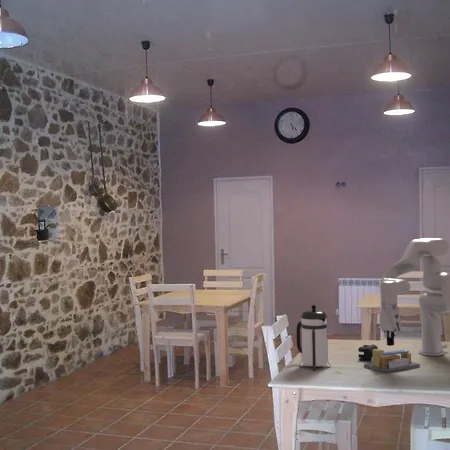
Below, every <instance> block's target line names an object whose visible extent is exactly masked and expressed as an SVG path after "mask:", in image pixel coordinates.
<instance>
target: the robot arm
mask: <svg viewBox="0 0 450 450" xmlns="http://www.w3.org/2000/svg"><path fill="white" fill-rule="evenodd" d="M449 250H450V243H449V241H448V240H447V239H446V238H442V237H441V238H439V237H437V238H435V237H433V238H432V237H424V238H423V237H422V238H417V239H416V238H415V239H412V240H411V241H409V243H408V244H407V246H406V248H405V250H404V253H403V255H402V256H401V259H400V260H398V261H397V262H395V263H394V264H393V265H391V266H390V267H389V268H387V269H386V270H385V272H384V274H383V275H382V278H381V280H380V284H379V288H380V312H379V313H380V314H379V326H380V327H379V328H380V329H381V332H383V333H384V335H385V337H386V345H387V346H389V347H391V346H394V345H395V337H396V335H400V331H402V324H401V320H402V319H401V315H400V311H399V309H398V308H399V305H398V296H399V295H401V296H404V295H406V294H408V293H409V292H410V291H411V284H410V282H409V281H408V280H407V279H403V278H398V277H400V276H402V275H405V274H409V273H411V272H413V271H416V269H417V268H418V266H419V264H420V262H421V259H422V262H423V269H422V271H423V273H422V285H423V287H424V289H426V290H428V291H429V290H430V291H440V292H441V291H442V293H440V292H439V293H438V292H424V293H421V294H420V295H419V298H418V304H419V310H420V319H421V321H420V322H421V349H419V350H418V354H420V355H423V356H430V357H431V356H432V357H437V356H443V355H445V351H444V349H448V345H447V344H442V332H441V331H442V329H441V327H442V325H441V324H442V322H441V317H440V314H439V313H446V314H447V313H450V272H445V271H444V272H442V271H441V267H442V266H441V259H440V258H439V257H440V256H441V257H442V256H445V255H447V254H448V252H449Z"/></svg>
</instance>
